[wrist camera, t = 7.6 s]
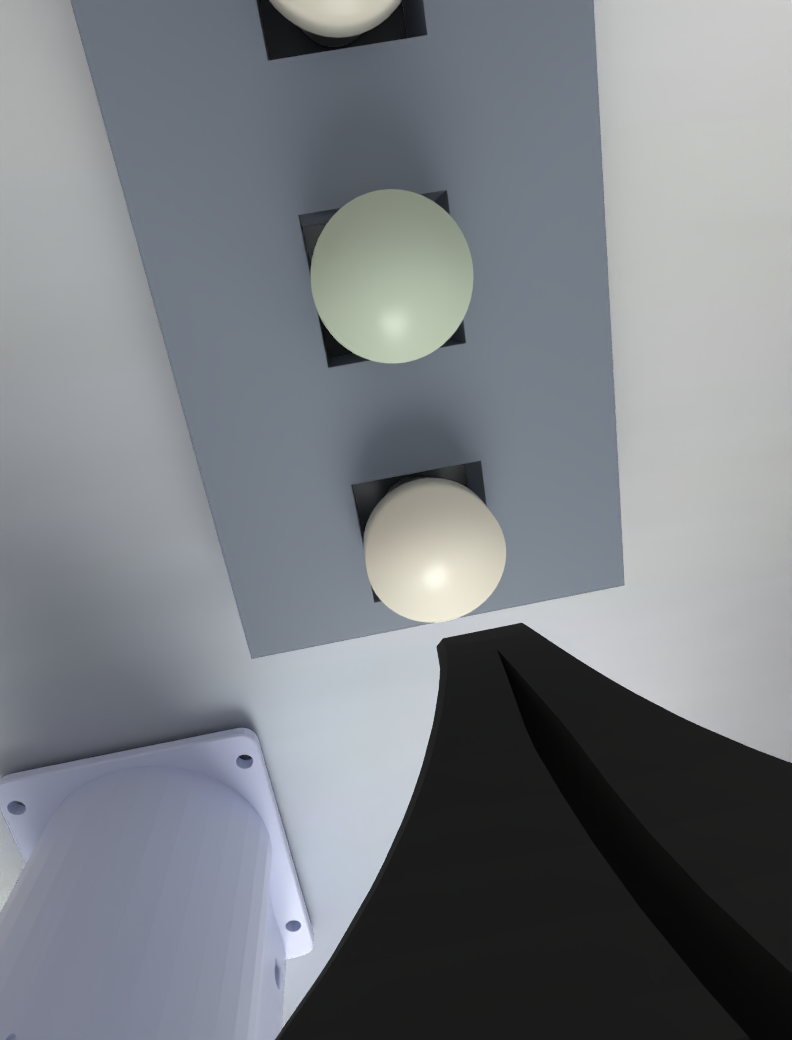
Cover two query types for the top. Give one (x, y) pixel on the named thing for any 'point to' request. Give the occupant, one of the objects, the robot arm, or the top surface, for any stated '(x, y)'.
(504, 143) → the console
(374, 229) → the knob middle
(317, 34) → the knob
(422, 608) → the knob
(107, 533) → the top surface
